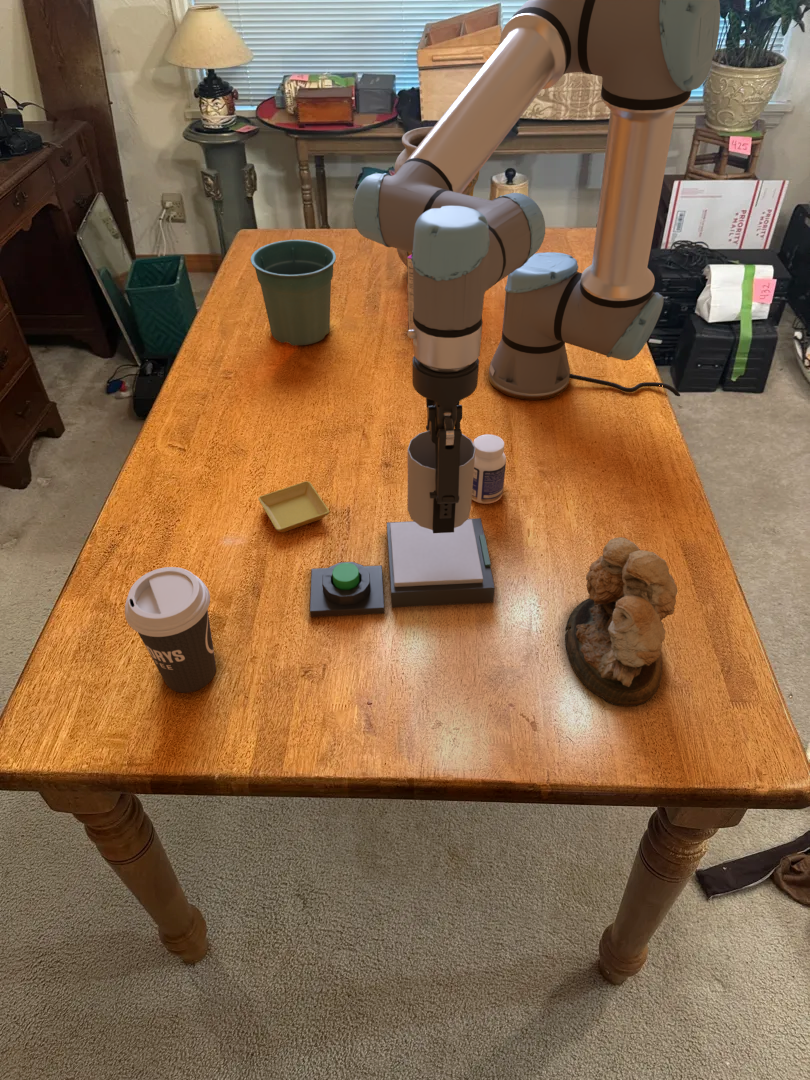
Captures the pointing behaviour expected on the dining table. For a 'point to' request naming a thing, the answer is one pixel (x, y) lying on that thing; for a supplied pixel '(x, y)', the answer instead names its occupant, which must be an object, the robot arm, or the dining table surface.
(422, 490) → the cup
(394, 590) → the scale
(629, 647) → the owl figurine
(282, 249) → the flower pot
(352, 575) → the button
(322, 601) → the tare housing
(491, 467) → the pill bottle
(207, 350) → the dining table surface
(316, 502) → the olive yellow tray
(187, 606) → the coffee cup
